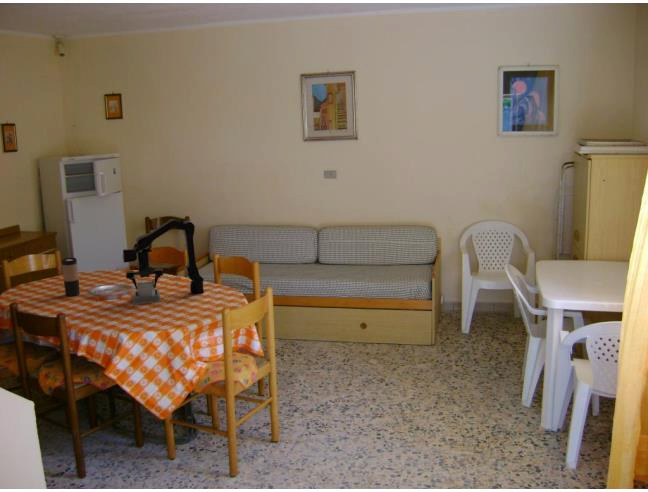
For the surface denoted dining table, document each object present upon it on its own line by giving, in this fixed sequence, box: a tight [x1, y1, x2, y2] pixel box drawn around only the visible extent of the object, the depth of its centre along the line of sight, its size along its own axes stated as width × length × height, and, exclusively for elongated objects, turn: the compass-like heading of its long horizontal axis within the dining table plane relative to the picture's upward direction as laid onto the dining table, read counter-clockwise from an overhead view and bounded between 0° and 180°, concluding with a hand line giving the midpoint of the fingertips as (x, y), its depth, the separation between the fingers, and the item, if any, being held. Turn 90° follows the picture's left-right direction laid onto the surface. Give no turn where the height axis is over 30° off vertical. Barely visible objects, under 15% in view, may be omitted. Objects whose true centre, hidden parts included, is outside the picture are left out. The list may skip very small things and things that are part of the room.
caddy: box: [132, 288, 162, 305], centre depth 353 cm, size 14×16×3 cm
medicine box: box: [136, 280, 156, 297], centre depth 352 cm, size 8×4×9 cm, turn 86°
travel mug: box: [61, 257, 81, 298], centre depth 361 cm, size 8×8×20 cm
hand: (145, 288), depth 352 cm, fingers open, 9 cm apart
